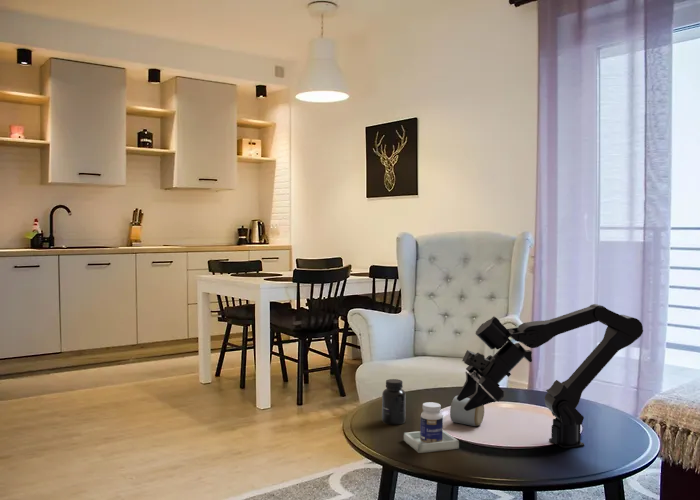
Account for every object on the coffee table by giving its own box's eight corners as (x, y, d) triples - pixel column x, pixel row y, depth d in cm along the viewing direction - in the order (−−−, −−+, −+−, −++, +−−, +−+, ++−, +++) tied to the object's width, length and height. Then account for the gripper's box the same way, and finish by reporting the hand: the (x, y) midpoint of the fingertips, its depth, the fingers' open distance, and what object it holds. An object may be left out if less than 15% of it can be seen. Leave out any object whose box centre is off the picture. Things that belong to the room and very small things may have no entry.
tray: (441, 436, 169) (441, 428, 169) (458, 448, 159) (458, 440, 159) (403, 440, 165) (403, 432, 165) (418, 453, 156) (419, 445, 156)
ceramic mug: (476, 429, 174) (477, 402, 174) (449, 425, 179) (449, 398, 179) (488, 420, 184) (489, 394, 183) (462, 416, 188) (462, 390, 188)
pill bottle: (427, 447, 159) (427, 408, 158) (416, 440, 164) (416, 402, 163) (446, 444, 161) (447, 406, 161) (435, 437, 166) (435, 400, 166)
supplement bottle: (378, 423, 180) (378, 382, 180) (386, 417, 186) (386, 377, 186) (401, 426, 177) (401, 384, 177) (408, 419, 184) (408, 379, 183)
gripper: (473, 334, 171) (433, 374, 171) (490, 346, 153) (445, 392, 153) (502, 362, 172) (462, 403, 172) (522, 378, 153) (477, 423, 153)
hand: (461, 404), depth 162 cm, fingers open, 9 cm apart
